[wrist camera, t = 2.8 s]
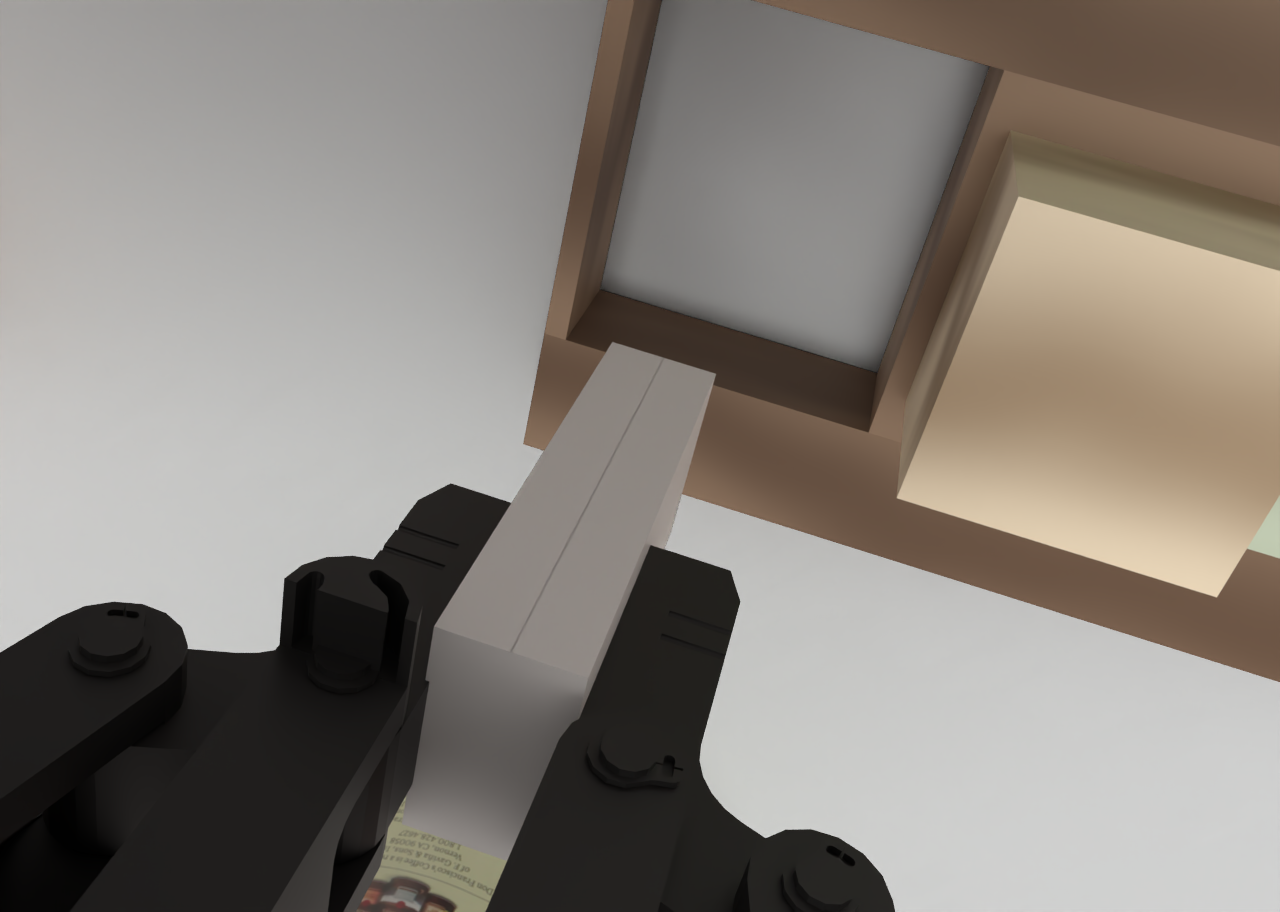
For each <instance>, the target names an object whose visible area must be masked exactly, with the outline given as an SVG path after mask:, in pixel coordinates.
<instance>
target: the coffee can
mask: <svg viewBox="0 0 1280 912" xmlns="http://www.w3.org/2000/svg"><path fill="white" fill-rule="evenodd" d="M405 802H406V797H405V798H404V800H403V802H402V804H401V806H400V807H399V809H398V811H397V813H396V815H395V817H394V818H393V820H392V822H391V824H390V826H389V827H388V833H387V839H386V846H385V850H384V854H383V858H382V861H381V865H380V868H379V870H378V871H377V873H376V875H375V877H374V879H373V881H372V883H371V884H370V886H369V888H368V890H367V892H366V894H365V896H364V898H363V899H362V901H361V903H360V905H359V907H358V909H357V911H356V912H485V911H486V909H487V907H488V904H489V902H490V900H491V897H492V895H493V893H494V890H495V888H496V886H497V883H498V881H499V879H500V876H501V874H502V872H503V869H504V867H505V865H506V862H507V861H506V860H503V859H500V858H497V857H494V856H491V855H488V854H486V853H483V852H480V851H477V850H474V849H471V848H469V847H466V846H463V845H460V844H457V843H454V842H451V841H449V840H446V839H443V838H440V837H437V836H434V835H431V834H429V833H426V832H423V831H420V830H417V829H414V828H412V827H409V826H406V825H403V824H402V820H403V814H404V808H405Z"/></svg>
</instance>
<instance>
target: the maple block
mask: <svg viewBox="0 0 1280 912" xmlns="http://www.w3.org/2000/svg"><path fill="white" fill-rule="evenodd" d="M1279 496H1280V206H1278V205H1274V204H1271V203H1267V202H1264V201H1260V200H1257V199H1253V198H1250V197H1246V196H1242V195H1239V194H1235V193H1232V192H1228V191H1225V190H1221V189H1218V188H1214V187H1210V186H1207V185H1203V184H1200V183H1196V182H1193V181H1189V180H1186V179H1182V178H1178V177H1175V176H1171V175H1168V174H1164V173H1161V172H1157V171H1154V170H1150V169H1146V168H1143V167H1139V166H1136V165H1132V164H1129V163H1125V162H1122V161H1118V160H1114V159H1111V158H1107V157H1104V156H1100V155H1097V154H1093V153H1090V152H1086V151H1082V150H1079V149H1075V148H1072V147H1068V146H1065V145H1061V144H1058V143H1054V142H1050V141H1047V140H1043V139H1040V138H1036V137H1033V136H1029V135H1026V134H1022V133H1018V132H1015V131H1010V133H1009V136H1008V138H1007V141H1006V144H1005V146H1004V149H1003V151H1002V154H1001V156H1000V159H999V162H998V164H997V167H996V169H995V172H994V175H993V177H992V180H991V182H990V185H989V187H988V190H987V193H986V195H985V198H984V200H983V203H982V205H981V208H980V211H979V213H978V216H977V218H976V221H975V224H974V226H973V229H972V231H971V234H970V236H969V239H968V242H967V244H966V247H965V249H964V252H963V254H962V257H961V260H960V262H959V265H958V267H957V270H956V272H955V275H954V278H953V280H952V283H951V285H950V288H949V291H948V293H947V296H946V298H945V301H944V303H943V306H942V309H941V311H940V314H939V316H938V319H937V321H936V324H935V327H934V329H933V332H932V334H931V337H930V340H929V342H928V345H927V347H926V350H925V352H924V355H923V358H922V360H921V363H920V365H919V368H918V370H917V373H916V376H915V378H914V381H913V383H912V386H911V389H910V391H909V394H908V396H907V399H906V403H905V414H904V425H903V436H902V446H901V457H900V468H899V479H898V489H897V498H898V499H901V500H904V501H907V502H911V503H914V504H917V505H920V506H924V507H927V508H930V509H933V510H936V511H940V512H943V513H946V514H949V515H953V516H956V517H959V518H962V519H966V520H969V521H972V522H975V523H978V524H982V525H985V526H988V527H991V528H995V529H998V530H1001V531H1004V532H1007V533H1011V534H1014V535H1017V536H1020V537H1024V538H1027V539H1030V540H1033V541H1036V542H1040V543H1043V544H1046V545H1049V546H1053V547H1056V548H1059V549H1062V550H1065V551H1069V552H1072V553H1075V554H1078V555H1082V556H1085V557H1088V558H1091V559H1094V560H1098V561H1101V562H1104V563H1107V564H1111V565H1114V566H1117V567H1120V568H1123V569H1127V570H1130V571H1133V572H1136V573H1140V574H1143V575H1146V576H1149V577H1153V578H1156V579H1159V580H1162V581H1165V582H1169V583H1172V584H1175V585H1178V586H1182V587H1185V588H1188V589H1191V590H1194V591H1198V592H1201V593H1204V594H1207V595H1211V596H1214V597H1217V596H1218V595H1219V593H1220V592H1221V590H1222V588H1223V587H1224V585H1225V583H1226V582H1227V580H1228V579H1229V577H1230V575H1231V574H1232V572H1233V570H1234V569H1235V567H1236V566H1237V564H1238V562H1239V561H1240V559H1241V557H1242V556H1243V554H1244V553H1245V551H1246V549H1247V548H1248V546H1249V544H1250V543H1251V541H1252V540H1253V538H1254V536H1255V535H1256V533H1257V531H1258V530H1259V528H1260V527H1261V525H1262V523H1263V522H1264V520H1265V518H1266V517H1267V515H1268V514H1269V512H1270V510H1271V509H1272V507H1273V505H1274V504H1275V502H1276V501H1277V499H1278V497H1279Z"/></svg>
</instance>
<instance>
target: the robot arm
mask: <svg viewBox="0 0 1280 912" xmlns="http://www.w3.org/2000/svg"><path fill="white" fill-rule="evenodd" d="M715 376H716V374H715V373H711V372H708V371H705V370H702V369H699V368H695V367H692V366H689V365H686V364H682V363H679V362H676V361H673V360H669V359H666V358H663V357H660V356H656V355H653V354H650V353H647V352H643V351H640V350H637V349H634V348H630V347H627V346H624V345H621V344H617V343H614V342H612V344H611V345H610V347H609V348H608V350H607V351H606V353H605V355H604V356H603V358H602V359H601V361H600V363H599V364H598V366H597V367H596V369H595V371H594V372H593V374H592V375H591V377H590V379H589V380H588V382H587V383H586V385H585V387H584V388H583V390H582V391H581V393H580V395H579V396H578V398H577V399H576V401H575V403H574V404H573V406H572V407H571V409H570V410H569V412H568V414H567V415H566V417H565V418H564V420H563V422H562V423H561V425H560V426H559V428H558V430H557V431H556V433H555V434H554V436H553V438H552V439H551V441H550V442H549V444H548V446H547V447H546V449H545V450H544V452H543V454H542V455H541V457H540V458H539V460H538V462H537V463H536V465H535V466H534V468H533V470H532V471H531V473H530V474H529V476H528V477H527V479H526V481H525V482H524V484H523V485H522V487H521V489H520V490H519V492H518V493H517V495H516V497H515V498H514V500H513V501H512V503H510V502H507V501H503V500H500V499H497V498H494V497H491V496H488V495H485V494H482V493H479V492H476V491H472V490H469V489H466V488H463V487H460V486H457V485H454V484H449V485H447V486H445V487H443V488H441V489H439V490H437V491H435V492H433V493H431V494H429V495H427V496H426V497H424V498H422V499H420V500H418V501H417V503H416V504H415V505H414V507H413V508H412V509H411V510H410V512H409V513H408V514H407V516H406V517H405V518H404V520H403V521H402V522H401V524H400V525H399V528H398V530H395V532H394V533H393V534H392V536H391V537H390V538H389V539H388V541H387V542H386V543H385V545H384V548H383V550H382V551H381V550H380V551H379V553H378V554H377V555H376V557H375V558H374V559H373V560H372V559H367V558H361V557H356V556H343V557H326V558H323V559H320V560H317V561H314V562H310V563H307V564H304V565H302V566H300V567H299V568H298V569H297V570H295V571H294V572H293V573H291V574H290V575H289V576H287V577H286V578H285V579H284V592H283V606H282V619H281V633H280V645H279V646H278V647H277V649H276V650H273V651H267V652H261V653H229V652H217V651H205V650H193V649H188V645H187V642H186V639H185V636H184V633H183V630H182V627H181V626H180V625H179V624H177V623H176V622H175V621H174V620H173V619H172V618H171V617H170V616H168V615H167V614H166V613H164V612H161V611H159V610H156V609H154V608H151V607H148V606H146V605H143V604H134V603H122V602H110V603H103V604H97V605H90V606H84V607H82V608H80V609H77V610H75V611H73V612H70V613H68V614H66V615H63V616H61V617H59V618H57V619H55V620H54V621H52V622H50V623H49V624H47V625H45V626H44V627H42V628H40V629H39V630H37V631H35V632H34V633H32V634H30V635H29V636H27V637H25V638H24V639H22V640H20V641H19V642H17V643H15V644H14V645H12V646H10V647H9V648H7V649H5V650H4V651H2V652H0V912H356V911H357V909H358V907H359V905H360V903H361V901H362V899H363V898H364V896H365V894H366V892H367V890H368V888H369V886H370V884H371V883H372V881H373V879H374V877H375V875H376V873H377V871H378V870H379V868H380V865H381V861H382V858H383V854H384V850H385V846H386V839H387V833H388V827H389V826H390V824H391V822H392V820H393V818H394V817H395V815H396V813H397V811H398V809H399V807H400V806H401V804H402V802H403V800H404V798H405V797H406V802H405V808H404V814H403V820H402V824H403V825H406V826H409V827H412V828H414V829H417V830H420V831H423V832H426V833H429V834H431V835H434V836H437V837H440V838H443V839H446V840H449V841H451V842H454V843H457V844H460V845H463V846H466V847H469V848H471V849H474V850H477V851H480V852H483V853H486V854H488V855H491V856H494V857H497V858H500V859H503V860H506V861H507V862H506V865H505V867H504V869H503V872H502V874H501V876H500V879H499V881H498V883H497V886H496V888H495V890H494V893H493V895H492V897H491V900H490V902H489V904H488V907H487V909H486V911H485V912H895V909H894V904H893V900H892V898H891V895H890V893H889V890H888V888H887V886H886V883H885V881H884V878H883V876H882V875H881V874H880V872H879V871H878V870H877V869H876V868H875V867H874V866H873V864H872V863H871V862H870V861H869V860H868V859H867V857H866V856H865V855H864V854H863V853H861V852H860V851H858V850H857V849H855V848H854V847H852V846H850V845H849V844H847V843H846V842H844V841H843V840H841V839H840V838H838V837H834V836H831V835H828V834H825V833H821V832H818V831H815V830H811V829H810V830H784V831H782V832H779V833H777V834H775V835H773V836H770V837H768V838H764V837H763V836H761V835H760V834H758V833H757V832H755V831H754V830H752V829H751V828H749V827H748V826H746V825H745V824H743V823H742V822H740V821H739V820H738V819H737V818H735V817H734V816H733V815H732V814H730V813H729V812H728V811H727V810H725V809H724V808H723V806H722V805H721V804H720V803H719V802H718V800H717V799H716V798H715V797H714V796H713V794H712V793H711V791H710V789H709V788H708V786H707V784H706V782H705V780H704V778H703V775H702V770H701V766H700V761H699V759H700V749H701V743H702V739H703V736H704V732H705V728H706V725H707V721H708V717H709V714H710V710H711V707H712V703H713V699H714V696H715V692H716V688H717V685H718V681H719V677H720V674H721V670H722V666H723V663H724V659H725V655H726V652H727V648H728V645H729V641H730V637H731V633H732V630H733V626H734V623H735V619H736V615H737V612H738V608H739V605H740V599H739V596H738V593H737V590H736V587H735V584H734V580H733V577H732V574H731V571H730V570H726V569H723V568H720V567H717V566H714V565H711V564H708V563H705V562H702V561H699V560H695V559H692V558H689V557H686V556H683V555H680V554H677V553H674V552H671V551H668V550H664V549H665V546H666V543H667V541H668V538H669V536H670V533H671V530H672V527H673V523H674V520H675V516H676V513H677V509H678V506H679V502H680V499H681V495H682V492H683V488H684V485H685V481H686V478H687V474H688V471H689V467H690V464H691V460H692V457H693V453H694V450H695V446H696V443H697V439H698V436H699V432H700V428H701V425H702V421H703V418H704V414H705V411H706V407H707V404H708V400H709V397H710V393H711V390H712V386H713V383H714V379H715Z"/></svg>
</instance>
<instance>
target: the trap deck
mask: <svg viewBox="0 0 1280 912" xmlns="http://www.w3.org/2000/svg"><path fill="white" fill-rule="evenodd" d="M753 1H757V2H760V3H764V4H768V5H771V6H775V7H778V8H782V9H786V10H789V11H793V12H796V13H800V14H804V15H807V16H811V17H815V18H818V19H822V20H825V21H829V22H833V23H836V24H840V25H843V26H847V27H851V28H854V29H858V30H861V31H865V32H869V33H872V34H876V35H879V36H883V37H887V38H890V39H894V40H898V41H901V42H905V43H908V44H912V45H916V46H919V47H923V48H926V49H930V50H934V51H937V52H941V53H944V54H948V55H952V56H955V57H959V58H962V59H966V60H970V61H973V62H977V63H980V64H984V65H988V66H990V67H989V70H988V73H987V75H986V78H985V81H984V84H983V86H982V89H981V92H980V95H979V97H978V100H977V103H976V105H975V108H974V111H973V114H972V116H971V119H970V122H969V124H968V127H967V130H966V133H965V135H964V138H963V141H962V144H961V146H960V149H959V152H958V154H957V157H956V160H955V163H954V165H953V168H952V171H951V173H950V176H949V179H948V182H947V184H946V187H945V190H944V193H943V195H942V198H941V201H940V203H939V206H938V209H937V212H936V214H935V217H934V220H933V222H932V225H931V228H930V231H929V233H928V236H927V239H926V242H925V244H924V247H923V250H922V252H921V255H920V258H919V261H918V263H917V266H916V269H915V271H914V274H913V277H912V280H911V282H910V285H909V288H908V291H907V293H906V296H905V299H904V301H903V304H902V307H901V310H900V312H899V315H898V318H897V320H896V323H895V326H894V329H893V331H892V334H891V337H890V340H889V342H888V345H887V348H886V350H885V353H884V356H883V359H882V361H881V364H880V367H879V369H878V372H877V373H874V372H871V371H868V370H865V369H861V368H858V367H855V366H851V365H848V364H845V363H841V362H838V361H835V360H831V359H828V358H825V357H821V356H818V355H815V354H811V353H808V352H805V351H802V350H798V349H795V348H792V347H788V346H785V345H782V344H778V343H775V342H772V341H768V340H765V339H762V338H758V337H755V336H752V335H748V334H745V333H742V332H739V331H735V330H732V329H729V328H725V327H722V326H719V325H715V324H712V323H709V322H705V321H702V320H699V319H695V318H692V317H689V316H685V315H682V314H679V313H676V312H672V311H669V310H666V309H662V308H659V307H656V306H652V305H649V304H646V303H642V302H639V301H636V300H632V299H629V298H626V297H622V296H619V295H616V294H613V293H609V292H606V291H603V290H600V287H601V282H602V278H603V273H604V268H605V264H606V259H607V254H608V250H609V245H610V240H611V236H612V231H613V226H614V222H615V217H616V212H617V208H618V203H619V198H620V194H621V189H622V184H623V180H624V175H625V170H626V166H627V161H628V156H629V152H630V147H631V142H632V138H633V133H634V128H635V124H636V119H637V114H638V110H639V105H640V100H641V96H642V91H643V86H644V82H645V77H646V72H647V68H648V63H649V58H650V54H651V49H652V44H653V40H654V35H655V30H656V26H657V21H658V16H659V12H660V7H661V2H662V0H608V3H607V8H606V14H605V19H604V24H603V29H602V35H601V40H600V45H599V50H598V56H597V61H596V66H595V71H594V77H593V82H592V87H591V92H590V97H589V103H588V108H587V113H586V118H585V124H584V129H583V134H582V139H581V145H580V150H579V155H578V160H577V166H576V171H575V176H574V181H573V187H572V192H571V197H570V202H569V208H568V213H567V218H566V223H565V229H564V234H563V239H562V244H561V249H560V255H559V260H558V265H557V270H556V276H555V281H554V286H553V291H552V297H551V302H550V307H549V312H548V318H547V323H546V328H545V333H544V339H543V344H542V349H541V354H540V360H539V365H538V370H537V375H536V380H535V386H534V391H533V396H532V401H531V407H530V412H529V417H528V422H527V428H526V433H525V438H524V443H523V444H525V445H528V446H531V447H534V448H538V449H541V450H545V449H546V447H547V446H548V444H549V442H550V441H551V439H552V438H553V436H554V434H555V433H556V431H557V430H558V428H559V426H560V425H561V423H562V422H563V420H564V418H565V417H566V415H567V414H568V412H569V410H570V409H571V407H572V406H573V404H574V403H575V401H576V399H577V398H578V396H579V395H580V393H581V391H582V390H583V388H584V387H585V385H586V383H587V382H588V380H589V379H590V377H591V375H592V374H593V372H594V371H595V369H596V367H597V366H598V364H599V363H600V361H601V359H602V358H603V356H604V355H605V353H606V351H607V350H608V348H609V347H610V345H611V344H612V342H614V343H617V344H621V345H624V346H627V347H630V348H634V349H637V350H640V351H643V352H647V353H650V354H653V355H656V356H660V357H663V358H666V359H669V360H673V361H676V362H679V363H682V364H686V365H689V366H692V367H695V368H699V369H702V370H705V371H708V372H711V373H715V374H716V376H715V379H714V383H713V386H712V390H711V393H710V397H709V400H708V404H707V407H706V411H705V414H704V418H703V421H702V425H701V428H700V432H699V436H698V439H697V443H696V446H695V450H694V453H693V457H692V460H691V464H690V467H689V471H688V474H687V478H686V481H685V485H684V488H683V492H682V494H684V495H687V496H690V497H693V498H696V499H700V500H703V501H706V502H709V503H712V504H716V505H719V506H722V507H725V508H728V509H731V510H735V511H738V512H741V513H744V514H747V515H750V516H754V517H757V518H760V519H763V520H766V521H770V522H773V523H776V524H779V525H782V526H785V527H789V528H792V529H795V530H798V531H801V532H804V533H808V534H811V535H814V536H817V537H820V538H824V539H827V540H830V541H833V542H836V543H839V544H843V545H846V546H849V547H852V548H855V549H859V550H862V551H865V552H868V553H871V554H874V555H878V556H881V557H884V558H887V559H890V560H893V561H897V562H900V563H903V564H906V565H909V566H913V567H916V568H919V569H922V570H925V571H928V572H932V573H935V574H938V575H941V576H944V577H947V578H951V579H954V580H957V581H960V582H963V583H967V584H970V585H973V586H976V587H979V588H982V589H986V590H989V591H992V592H995V593H998V594H1001V595H1005V596H1008V597H1011V598H1014V599H1017V600H1021V601H1024V602H1027V603H1030V604H1033V605H1036V606H1040V607H1043V608H1046V609H1049V610H1052V611H1055V612H1059V613H1062V614H1065V615H1068V616H1071V617H1075V618H1078V619H1081V620H1084V621H1087V622H1090V623H1094V624H1097V625H1100V626H1103V627H1106V628H1110V629H1113V630H1116V631H1119V632H1122V633H1125V634H1129V635H1132V636H1135V637H1138V638H1141V639H1144V640H1148V641H1151V642H1154V643H1157V644H1160V645H1164V646H1167V647H1170V648H1173V649H1176V650H1179V651H1183V652H1186V653H1189V654H1192V655H1195V656H1198V657H1202V658H1205V659H1208V660H1211V661H1214V662H1218V663H1221V664H1224V665H1227V666H1230V667H1233V668H1237V669H1240V670H1243V671H1246V672H1249V673H1252V674H1256V675H1259V676H1262V677H1265V678H1268V679H1272V680H1275V681H1278V682H1280V496H1279V497H1278V499H1277V501H1276V502H1275V504H1274V505H1273V507H1272V509H1271V510H1270V512H1269V514H1268V515H1267V517H1266V518H1265V520H1264V522H1263V523H1262V525H1261V527H1260V528H1259V530H1258V531H1257V533H1256V535H1255V536H1254V538H1253V540H1252V541H1251V543H1250V544H1249V546H1248V548H1247V549H1246V551H1245V553H1244V554H1243V556H1242V557H1241V559H1240V561H1239V562H1238V564H1237V566H1236V567H1235V569H1234V570H1233V572H1232V574H1231V575H1230V577H1229V579H1228V580H1227V582H1226V583H1225V585H1224V587H1223V588H1222V590H1221V592H1220V593H1219V595H1218V596H1217V597H1214V596H1211V595H1207V594H1204V593H1201V592H1198V591H1194V590H1191V589H1188V588H1185V587H1182V586H1178V585H1175V584H1172V583H1169V582H1165V581H1162V580H1159V579H1156V578H1153V577H1149V576H1146V575H1143V574H1140V573H1136V572H1133V571H1130V570H1127V569H1123V568H1120V567H1117V566H1114V565H1111V564H1107V563H1104V562H1101V561H1098V560H1094V559H1091V558H1088V557H1085V556H1082V555H1078V554H1075V553H1072V552H1069V551H1065V550H1062V549H1059V548H1056V547H1053V546H1049V545H1046V544H1043V543H1040V542H1036V541H1033V540H1030V539H1027V538H1024V537H1020V536H1017V535H1014V534H1011V533H1007V532H1004V531H1001V530H998V529H995V528H991V527H988V526H985V525H982V524H978V523H975V522H972V521H969V520H966V519H962V518H959V517H956V516H953V515H949V514H946V513H943V512H940V511H936V510H933V509H930V508H927V507H924V506H920V505H917V504H914V503H911V502H907V501H904V500H901V499H898V498H897V489H898V479H899V468H900V457H901V446H902V436H903V425H904V414H905V403H906V399H907V396H908V394H909V391H910V389H911V386H912V383H913V381H914V378H915V376H916V373H917V370H918V368H919V365H920V363H921V360H922V358H923V355H924V352H925V350H926V347H927V345H928V342H929V340H930V337H931V334H932V332H933V329H934V327H935V324H936V321H937V319H938V316H939V314H940V311H941V309H942V306H943V303H944V301H945V298H946V296H947V293H948V291H949V288H950V285H951V283H952V280H953V278H954V275H955V272H956V270H957V267H958V265H959V262H960V260H961V257H962V254H963V252H964V249H965V247H966V244H967V242H968V239H969V236H970V234H971V231H972V229H973V226H974V224H975V221H976V218H977V216H978V213H979V211H980V208H981V205H982V203H983V200H984V198H985V195H986V193H987V190H988V187H989V185H990V182H991V180H992V177H993V175H994V172H995V169H996V167H997V164H998V162H999V159H1000V156H1001V154H1002V151H1003V149H1004V146H1005V144H1006V141H1007V138H1008V136H1009V133H1010V131H1015V132H1018V133H1022V134H1026V135H1029V136H1033V137H1036V138H1040V139H1043V140H1047V141H1050V142H1054V143H1058V144H1061V145H1065V146H1068V147H1072V148H1075V149H1079V150H1082V151H1086V152H1090V153H1093V154H1097V155H1100V156H1104V157H1107V158H1111V159H1114V160H1118V161H1122V162H1125V163H1129V164H1132V165H1136V166H1139V167H1143V168H1146V169H1150V170H1154V171H1157V172H1161V173H1164V174H1168V175H1171V176H1175V177H1178V178H1182V179H1186V180H1189V181H1193V182H1196V183H1200V184H1203V185H1207V186H1210V187H1214V188H1218V189H1221V190H1225V191H1228V192H1232V193H1235V194H1239V195H1242V196H1246V197H1250V198H1253V199H1257V200H1260V201H1264V202H1267V203H1271V204H1274V205H1278V206H1280V0H753Z"/></svg>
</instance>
